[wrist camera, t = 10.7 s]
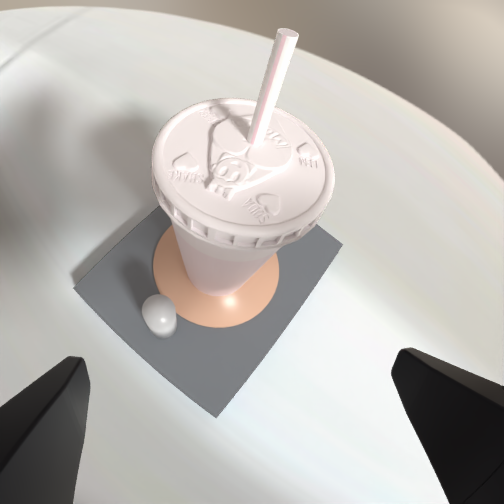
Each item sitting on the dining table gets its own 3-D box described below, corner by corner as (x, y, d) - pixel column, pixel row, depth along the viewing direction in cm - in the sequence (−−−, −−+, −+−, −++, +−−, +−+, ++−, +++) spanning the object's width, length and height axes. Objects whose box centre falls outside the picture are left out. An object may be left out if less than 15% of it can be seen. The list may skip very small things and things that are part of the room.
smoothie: (285, 248, 20) (404, 57, 8) (243, 339, 17) (390, 178, 5) (196, 204, 20) (227, -13, 8) (142, 285, 17) (84, 54, 5)
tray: (214, 416, 16) (222, 423, 12) (78, 294, 17) (55, 268, 14) (335, 251, 22) (363, 222, 19) (219, 165, 24) (226, 125, 20)
